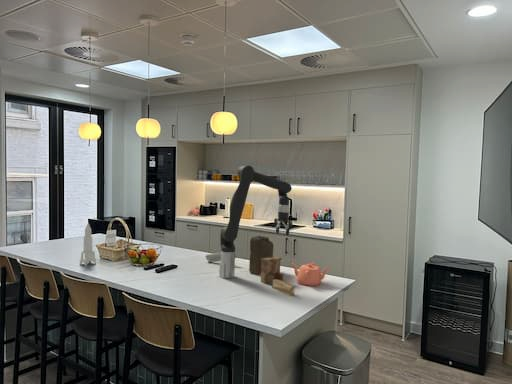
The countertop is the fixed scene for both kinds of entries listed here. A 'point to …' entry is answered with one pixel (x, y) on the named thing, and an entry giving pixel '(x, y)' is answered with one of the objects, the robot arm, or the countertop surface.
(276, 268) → the slotted wooden stand
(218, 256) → the gun
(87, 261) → the sculpture
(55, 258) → the countertop surface
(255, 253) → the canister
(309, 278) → the pot
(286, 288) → the rail
